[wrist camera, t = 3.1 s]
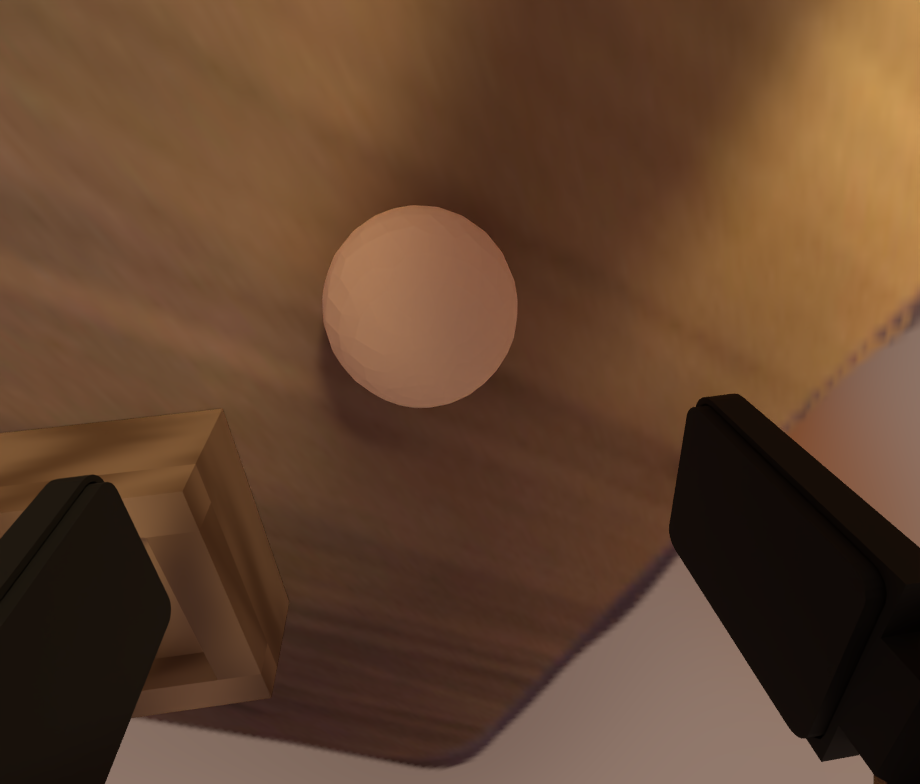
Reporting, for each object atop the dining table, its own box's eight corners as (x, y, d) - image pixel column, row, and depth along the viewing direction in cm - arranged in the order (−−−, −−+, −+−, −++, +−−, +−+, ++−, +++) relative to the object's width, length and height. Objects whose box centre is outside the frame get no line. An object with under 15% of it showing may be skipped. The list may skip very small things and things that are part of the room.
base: (222, 408, 18) (182, 491, 15) (289, 602, 24) (271, 697, 20) (-90, 443, 18) (-210, 538, 14) (49, 634, 23) (-14, 738, 19)
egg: (447, 151, 15) (476, 194, 10) (524, 299, 18) (578, 393, 13) (297, 244, 16) (254, 326, 11) (390, 373, 19) (391, 488, 13)
